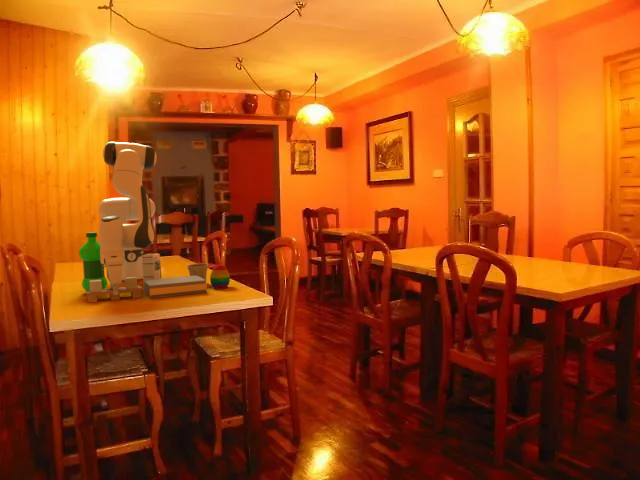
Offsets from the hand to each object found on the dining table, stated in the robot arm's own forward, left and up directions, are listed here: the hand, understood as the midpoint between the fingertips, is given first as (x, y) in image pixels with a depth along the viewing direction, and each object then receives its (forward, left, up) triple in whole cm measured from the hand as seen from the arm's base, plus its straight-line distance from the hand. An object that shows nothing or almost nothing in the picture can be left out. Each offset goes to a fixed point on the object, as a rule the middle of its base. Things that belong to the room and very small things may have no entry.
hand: (114, 293), depth 210 cm
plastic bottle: (-19, -6, -2) cm, 20 cm away
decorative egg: (0, +42, -2) cm, 42 cm away
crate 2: (0, +6, +2) cm, 7 cm away
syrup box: (-18, +17, -2) cm, 25 cm away
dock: (0, +23, -2) cm, 23 cm away
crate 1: (0, -7, +2) cm, 7 cm away
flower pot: (-14, +36, -2) cm, 39 cm away
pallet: (0, 0, -2) cm, 2 cm away
